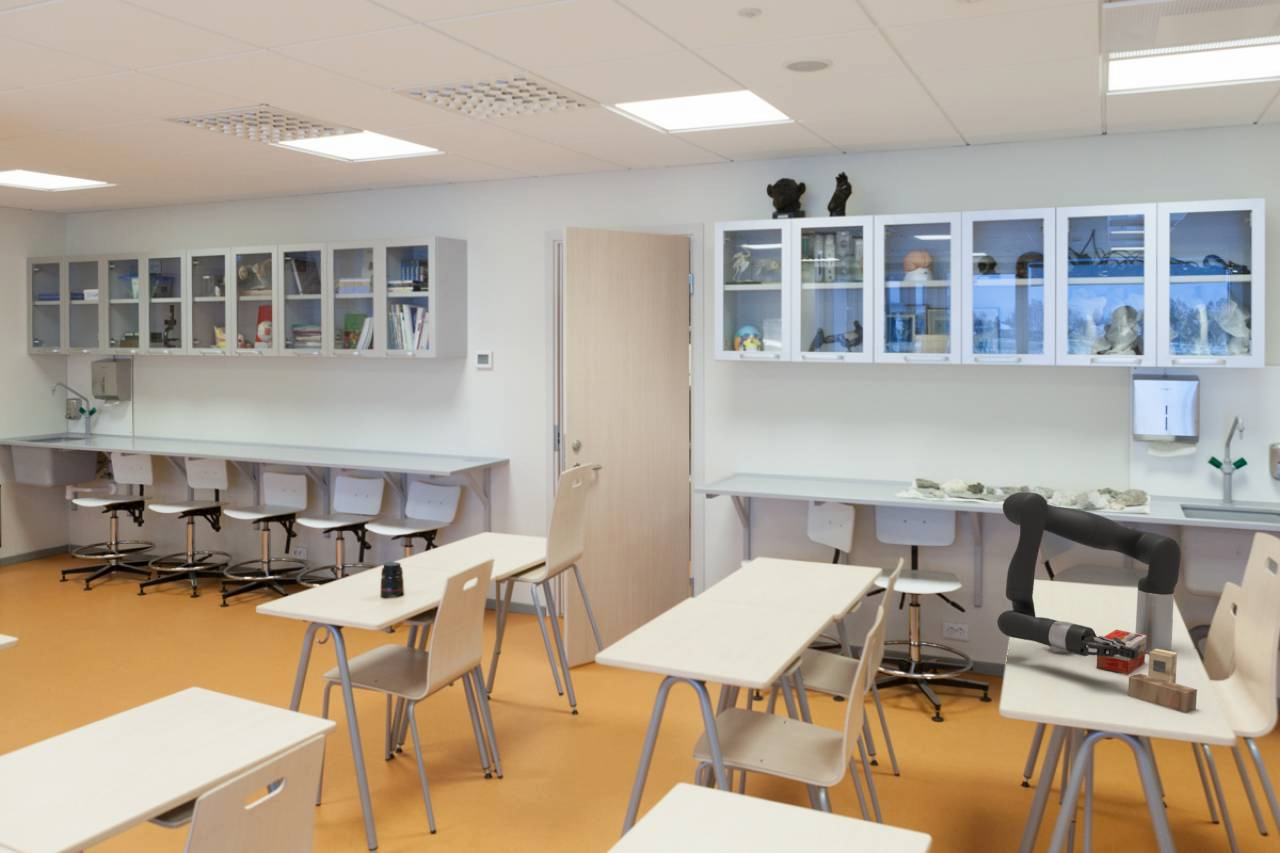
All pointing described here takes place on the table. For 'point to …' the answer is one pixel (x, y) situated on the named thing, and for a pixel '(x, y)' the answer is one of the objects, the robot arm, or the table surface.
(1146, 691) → the walnut block
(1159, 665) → the maple block
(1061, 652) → the die
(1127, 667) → the medicine box
